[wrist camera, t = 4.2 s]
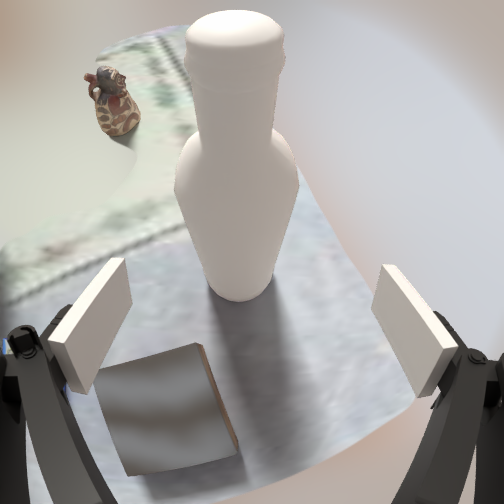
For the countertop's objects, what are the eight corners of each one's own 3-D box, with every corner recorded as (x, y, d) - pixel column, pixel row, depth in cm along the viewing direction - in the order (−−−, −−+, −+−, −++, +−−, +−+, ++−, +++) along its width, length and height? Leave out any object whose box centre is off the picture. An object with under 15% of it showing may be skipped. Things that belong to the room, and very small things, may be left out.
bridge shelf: (110, 371, 32) (90, 371, 27) (202, 345, 34) (195, 342, 29) (142, 462, 28) (127, 476, 23) (237, 440, 30) (237, 454, 25)
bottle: (282, 287, 36) (388, 70, 8) (220, 313, 35) (144, 123, 7) (255, 230, 39) (281, -15, 11) (196, 253, 38) (117, 17, 9)
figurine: (141, 129, 44) (121, 73, 33) (101, 142, 44) (74, 90, 32) (140, 102, 47) (123, 49, 35) (102, 114, 46) (80, 64, 35)
